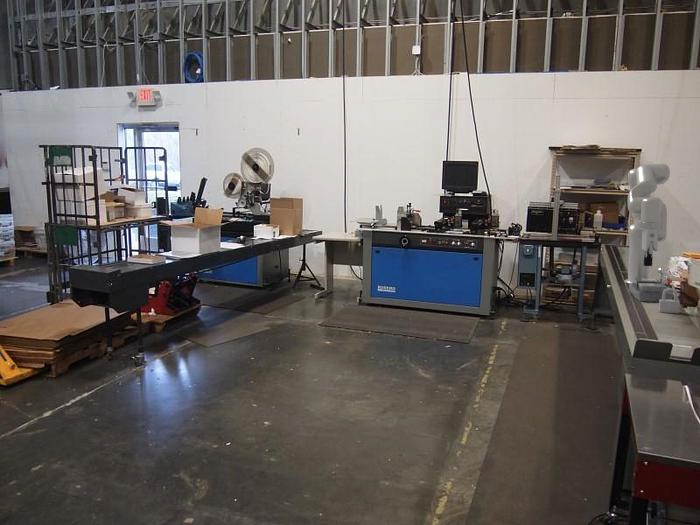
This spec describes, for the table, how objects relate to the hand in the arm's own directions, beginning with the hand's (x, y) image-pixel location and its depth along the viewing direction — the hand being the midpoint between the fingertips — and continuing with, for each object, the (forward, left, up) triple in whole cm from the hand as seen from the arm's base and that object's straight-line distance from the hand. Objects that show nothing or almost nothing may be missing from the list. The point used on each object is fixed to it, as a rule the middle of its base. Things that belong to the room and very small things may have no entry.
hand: (647, 265), depth 245 cm
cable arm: (-10, +10, -15) cm, 20 cm away
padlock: (+26, +4, -16) cm, 30 cm away
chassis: (-6, +2, -15) cm, 17 cm away
